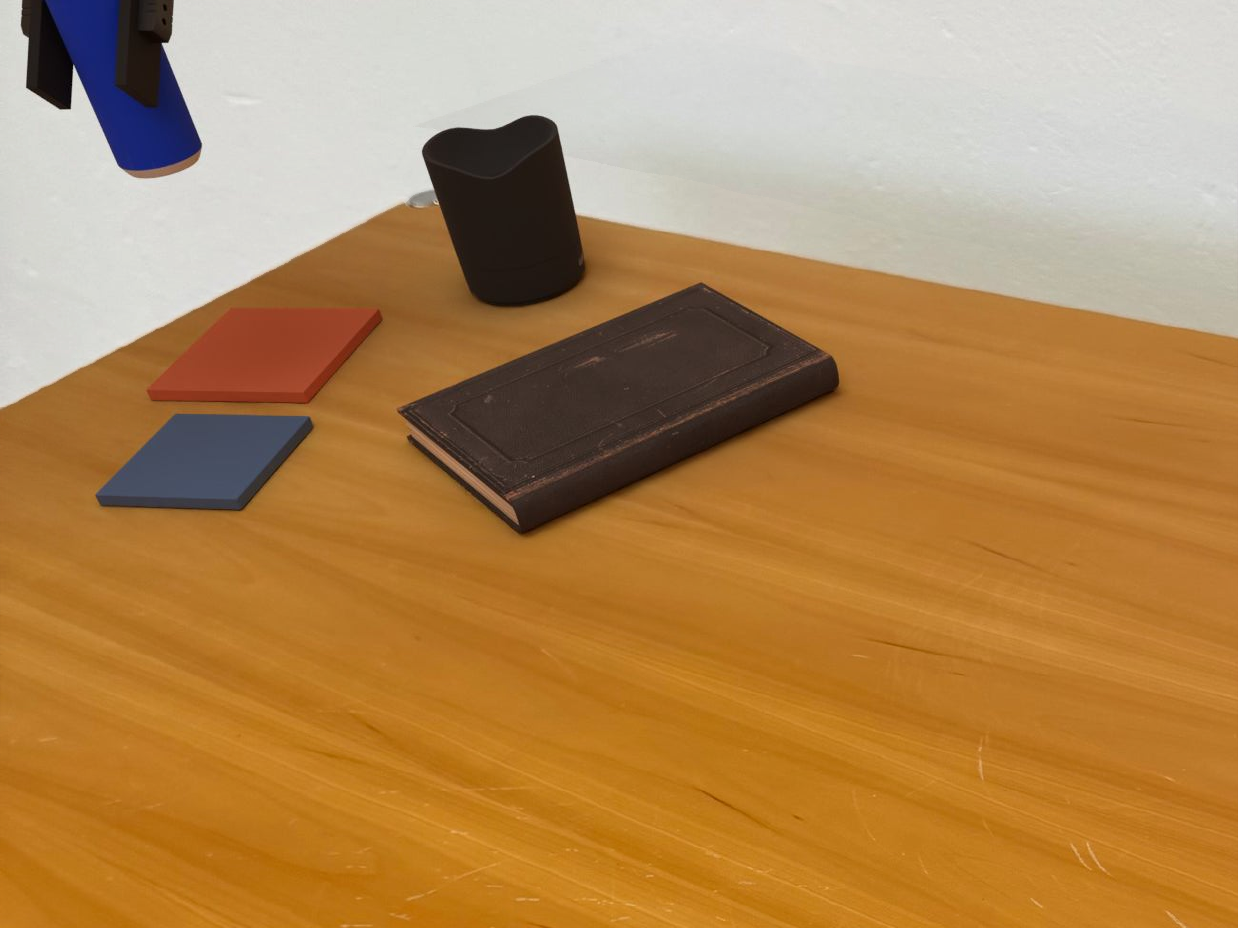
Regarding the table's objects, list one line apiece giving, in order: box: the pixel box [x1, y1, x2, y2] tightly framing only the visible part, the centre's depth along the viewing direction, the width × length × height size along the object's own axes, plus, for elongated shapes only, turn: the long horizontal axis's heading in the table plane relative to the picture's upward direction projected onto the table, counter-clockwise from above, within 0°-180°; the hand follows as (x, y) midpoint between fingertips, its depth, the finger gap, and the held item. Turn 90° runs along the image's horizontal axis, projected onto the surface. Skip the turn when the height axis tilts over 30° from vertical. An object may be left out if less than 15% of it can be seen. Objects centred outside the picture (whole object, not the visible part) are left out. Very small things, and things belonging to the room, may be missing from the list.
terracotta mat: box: [145, 307, 383, 404], centre depth 114 cm, size 12×12×1 cm
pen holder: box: [421, 114, 586, 307], centre depth 115 cm, size 9×9×10 cm
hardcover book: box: [396, 281, 840, 534], centre depth 103 cm, size 16×23×2 cm
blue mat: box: [94, 413, 314, 511], centre depth 104 cm, size 10×10×1 cm
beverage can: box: [45, 0, 203, 180], centre depth 95 cm, size 5×5×15 cm
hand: (92, 96), depth 94 cm, fingers closed on beverage can, 5 cm apart
